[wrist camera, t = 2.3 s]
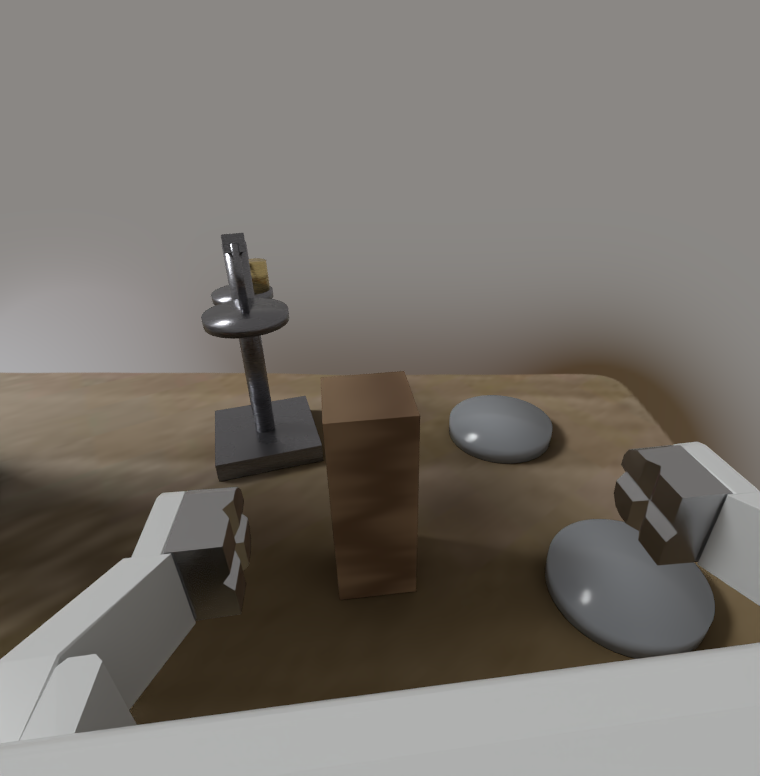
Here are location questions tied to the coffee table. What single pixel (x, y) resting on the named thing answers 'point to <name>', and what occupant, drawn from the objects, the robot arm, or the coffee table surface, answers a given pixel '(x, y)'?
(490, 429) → the grey flat pebble
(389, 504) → the pillar
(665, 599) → the grey oval dome
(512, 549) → the coffee table surface
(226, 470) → the balance
